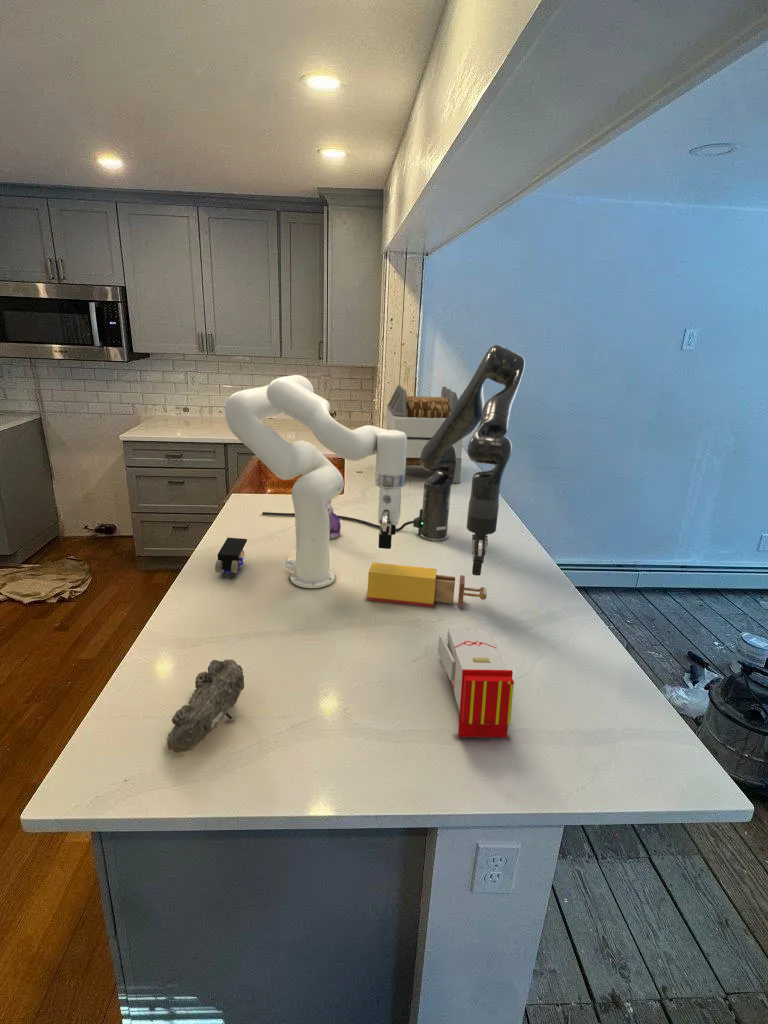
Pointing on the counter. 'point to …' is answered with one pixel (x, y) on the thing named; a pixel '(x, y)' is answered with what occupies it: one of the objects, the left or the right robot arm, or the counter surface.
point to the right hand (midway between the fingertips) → (476, 574)
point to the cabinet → (401, 584)
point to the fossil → (206, 705)
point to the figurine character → (230, 556)
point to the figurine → (333, 521)
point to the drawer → (446, 589)
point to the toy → (478, 682)
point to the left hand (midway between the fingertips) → (387, 540)
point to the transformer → (421, 422)
